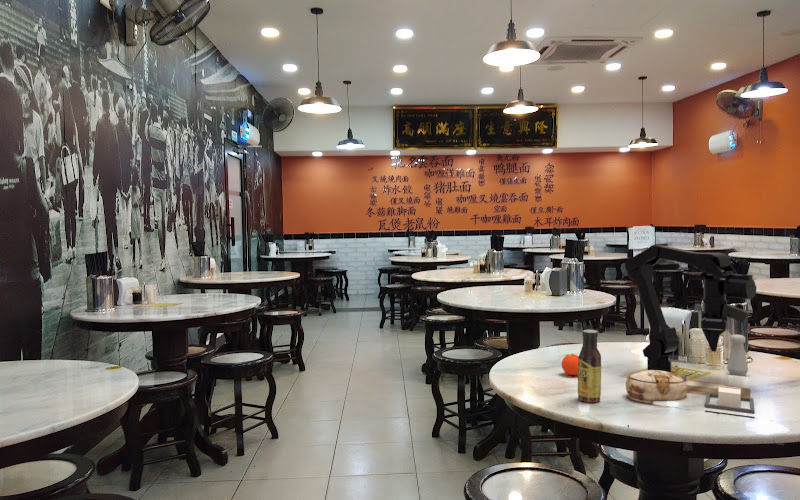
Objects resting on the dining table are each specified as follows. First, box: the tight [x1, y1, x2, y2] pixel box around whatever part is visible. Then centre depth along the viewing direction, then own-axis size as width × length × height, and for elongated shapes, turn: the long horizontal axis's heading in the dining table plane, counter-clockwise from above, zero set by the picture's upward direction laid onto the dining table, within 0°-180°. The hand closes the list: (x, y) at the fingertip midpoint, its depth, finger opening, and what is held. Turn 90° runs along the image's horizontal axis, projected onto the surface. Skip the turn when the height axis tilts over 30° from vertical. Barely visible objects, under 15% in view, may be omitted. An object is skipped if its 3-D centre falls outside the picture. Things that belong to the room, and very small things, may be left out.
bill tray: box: [704, 393, 755, 419], centre depth 151 cm, size 11×11×2 cm
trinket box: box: [625, 369, 688, 404], centre depth 160 cm, size 13×15×8 cm
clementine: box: [558, 353, 579, 376], centre depth 186 cm, size 8×7×7 cm
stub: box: [717, 385, 742, 408], centre depth 150 cm, size 5×6×5 cm
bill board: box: [679, 375, 752, 398], centre depth 163 cm, size 18×12×4 cm, turn 60°
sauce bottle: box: [577, 329, 602, 404], centre depth 160 cm, size 7×6×20 cm
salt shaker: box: [726, 334, 749, 377], centre depth 181 cm, size 6×6×13 cm
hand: (714, 348), depth 168 cm, fingers open, 9 cm apart
